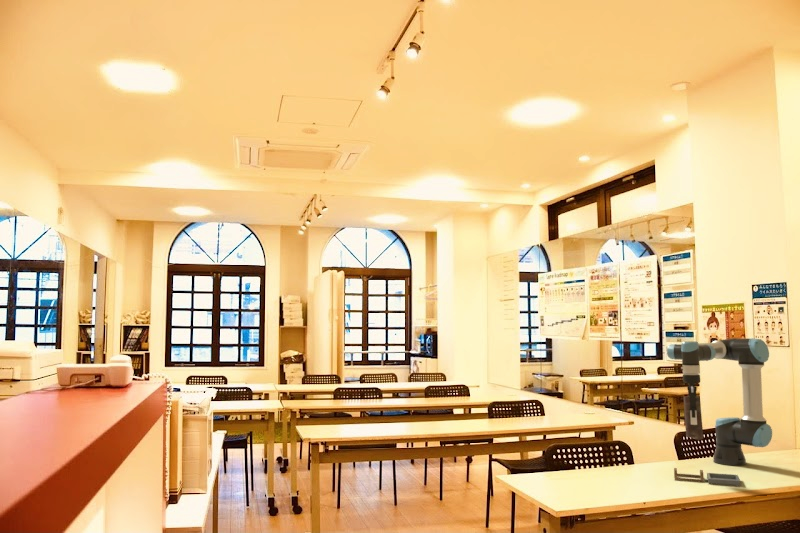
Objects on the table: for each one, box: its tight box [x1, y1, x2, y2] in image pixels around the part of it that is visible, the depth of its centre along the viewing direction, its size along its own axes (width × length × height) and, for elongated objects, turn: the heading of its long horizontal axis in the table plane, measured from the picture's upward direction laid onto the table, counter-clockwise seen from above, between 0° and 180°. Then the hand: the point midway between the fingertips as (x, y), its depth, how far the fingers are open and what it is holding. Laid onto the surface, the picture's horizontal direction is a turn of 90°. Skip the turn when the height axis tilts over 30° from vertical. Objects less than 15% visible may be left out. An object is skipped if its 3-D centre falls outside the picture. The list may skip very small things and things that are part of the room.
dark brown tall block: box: [683, 395, 704, 441], centre depth 302 cm, size 8×7×20 cm
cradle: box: [673, 467, 705, 483], centre depth 301 cm, size 10×12×4 cm
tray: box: [706, 472, 742, 487], centre depth 294 cm, size 13×13×2 cm
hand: (693, 423), depth 302 cm, fingers closed on dark brown tall block, 7 cm apart
